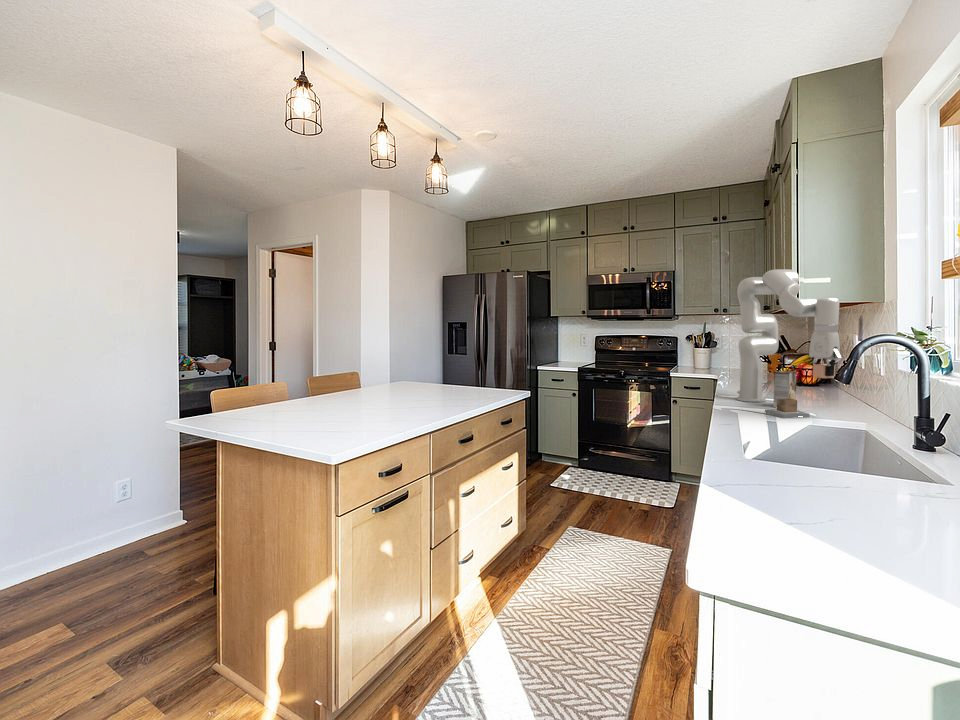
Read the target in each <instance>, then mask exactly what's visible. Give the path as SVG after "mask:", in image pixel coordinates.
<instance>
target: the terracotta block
mask: <svg viewBox="0 0 960 720" xmlns="http://www.w3.org/2000/svg"><path fill="white" fill-rule="evenodd" d="M812 364H813V363H812ZM826 366H827V363H821V364H813V365H812V377H813V378H819V379H835V378H834V376H835V377H836V366H834V376H825V370H826Z"/></svg>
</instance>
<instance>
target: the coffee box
mask: <svg viewBox="0 0 960 720" xmlns="http://www.w3.org/2000/svg"><path fill="white" fill-rule="evenodd" d="M797 374H798V373H797V371H793V370H792V371H791V370H779V371H776V372H775V371H774V372H773V408H775V407H777V399H780V398H790V399H794V400H797Z"/></svg>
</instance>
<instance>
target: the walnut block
mask: <svg viewBox="0 0 960 720" xmlns="http://www.w3.org/2000/svg"><path fill="white" fill-rule="evenodd" d="M776 409H777V411H781V412H785V413H789V412H797V411H798V399H796V400H794V399H790V398H780V399H777V408H776Z"/></svg>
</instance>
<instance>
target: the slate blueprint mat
mask: <svg viewBox="0 0 960 720" xmlns="http://www.w3.org/2000/svg"><path fill="white" fill-rule="evenodd" d="M765 412H766V413H770V414H773V415H772V416H774V415H776V416H775V417H777V416H778V417H777V418H782V419H790V418H791V419H794V418H793V417H798V416H803V418H810V415H811V414H810V413H809V412H805V411H801V410H797V412H789V413H785V412H781V411H777V408H773V409H770V408H769V409H764V413H765ZM766 413H765V414H766ZM770 414H769V415H770Z"/></svg>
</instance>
